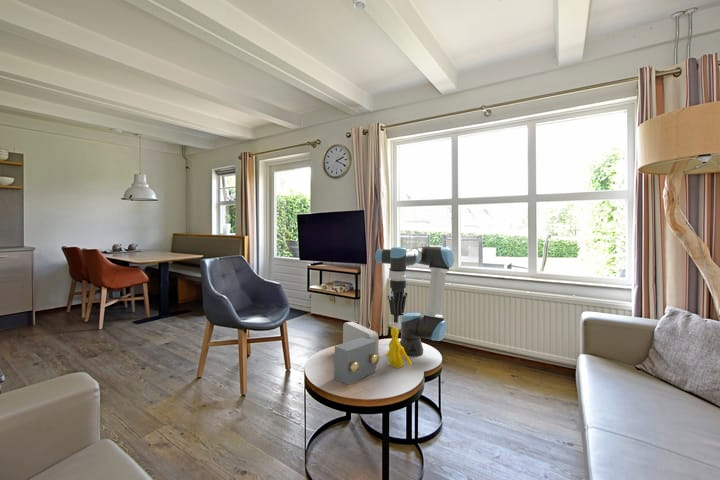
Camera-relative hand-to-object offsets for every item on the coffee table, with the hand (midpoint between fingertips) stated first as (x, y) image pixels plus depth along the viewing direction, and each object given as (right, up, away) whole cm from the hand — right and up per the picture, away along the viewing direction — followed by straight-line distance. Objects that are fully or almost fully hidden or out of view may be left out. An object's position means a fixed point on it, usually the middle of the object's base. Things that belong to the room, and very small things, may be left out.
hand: (397, 328), depth 155 cm
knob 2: (-13, -20, +10) cm, 25 cm away
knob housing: (-20, -25, +7) cm, 33 cm away
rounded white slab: (-18, -25, +29) cm, 42 cm away
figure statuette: (+2, -26, +19) cm, 32 cm away
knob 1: (-23, -20, 0) cm, 30 cm away
